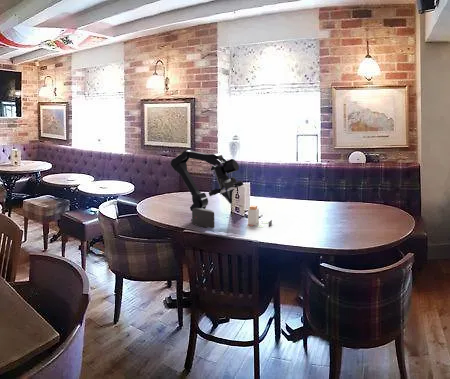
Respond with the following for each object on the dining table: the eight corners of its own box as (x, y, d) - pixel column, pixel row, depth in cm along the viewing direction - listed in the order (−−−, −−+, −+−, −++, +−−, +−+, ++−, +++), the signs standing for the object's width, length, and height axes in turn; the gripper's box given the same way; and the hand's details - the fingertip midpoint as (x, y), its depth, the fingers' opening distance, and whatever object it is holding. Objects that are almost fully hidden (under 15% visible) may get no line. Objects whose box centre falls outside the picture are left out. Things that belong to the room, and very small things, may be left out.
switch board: (239, 227, 213) (239, 220, 212) (246, 222, 223) (246, 216, 222) (267, 230, 207) (267, 223, 206) (273, 225, 217) (273, 218, 216)
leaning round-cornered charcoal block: (218, 228, 212) (218, 210, 210) (212, 230, 208) (212, 212, 207) (197, 223, 223) (197, 206, 221) (191, 224, 219) (191, 208, 218)
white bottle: (247, 224, 214) (247, 206, 213) (250, 222, 218) (250, 205, 217) (255, 224, 212) (255, 207, 211) (258, 222, 216) (258, 205, 215)
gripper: (209, 179, 206) (219, 208, 206) (242, 169, 212) (251, 197, 212) (204, 181, 217) (213, 209, 217) (235, 172, 222) (244, 198, 222)
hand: (231, 203), depth 217 cm, fingers closed
